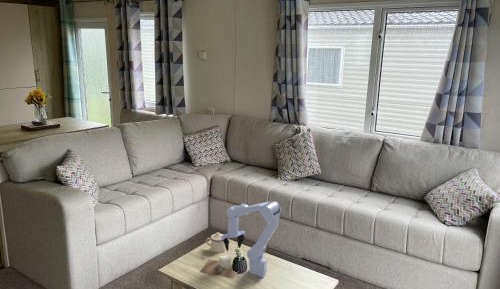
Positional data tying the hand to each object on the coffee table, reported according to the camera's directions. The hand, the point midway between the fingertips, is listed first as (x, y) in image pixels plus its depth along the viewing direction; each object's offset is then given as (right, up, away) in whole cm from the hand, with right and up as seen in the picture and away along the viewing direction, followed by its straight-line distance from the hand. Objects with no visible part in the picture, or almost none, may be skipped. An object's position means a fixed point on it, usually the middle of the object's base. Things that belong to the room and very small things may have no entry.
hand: (233, 248), depth 228 cm
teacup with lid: (-11, -5, +17) cm, 21 cm away
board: (-7, -11, -5) cm, 14 cm away
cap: (-4, -9, -2) cm, 10 cm away
